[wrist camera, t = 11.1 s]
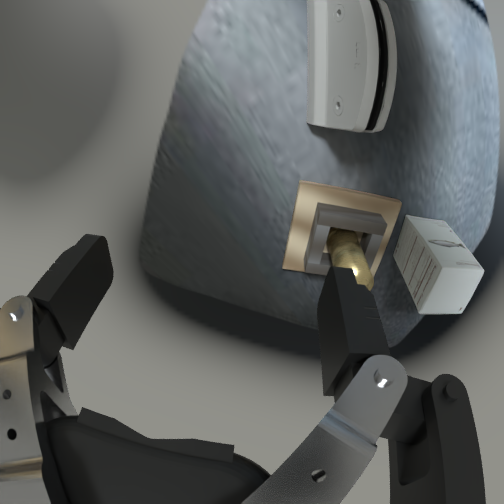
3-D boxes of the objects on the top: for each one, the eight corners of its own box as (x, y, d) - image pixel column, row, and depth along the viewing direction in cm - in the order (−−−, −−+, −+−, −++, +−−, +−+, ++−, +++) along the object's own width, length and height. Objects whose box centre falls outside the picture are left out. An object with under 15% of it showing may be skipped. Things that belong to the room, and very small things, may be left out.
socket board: (299, 180, 36) (302, 192, 32) (399, 199, 36) (410, 213, 32) (282, 263, 43) (282, 282, 40) (370, 275, 43) (376, 293, 40)
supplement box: (445, 219, 36) (487, 270, 26) (429, 260, 41) (461, 316, 30) (404, 212, 37) (443, 266, 26) (390, 256, 41) (418, 316, 30)
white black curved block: (306, -5, 23) (355, -26, 15) (342, 2, 24) (396, -11, 16) (306, 125, 32) (353, 145, 24) (340, 126, 33) (392, 146, 25)
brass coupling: (330, 220, 37) (343, 267, 29) (359, 225, 37) (380, 272, 29) (322, 247, 40) (332, 297, 31) (351, 252, 40) (367, 301, 31)
